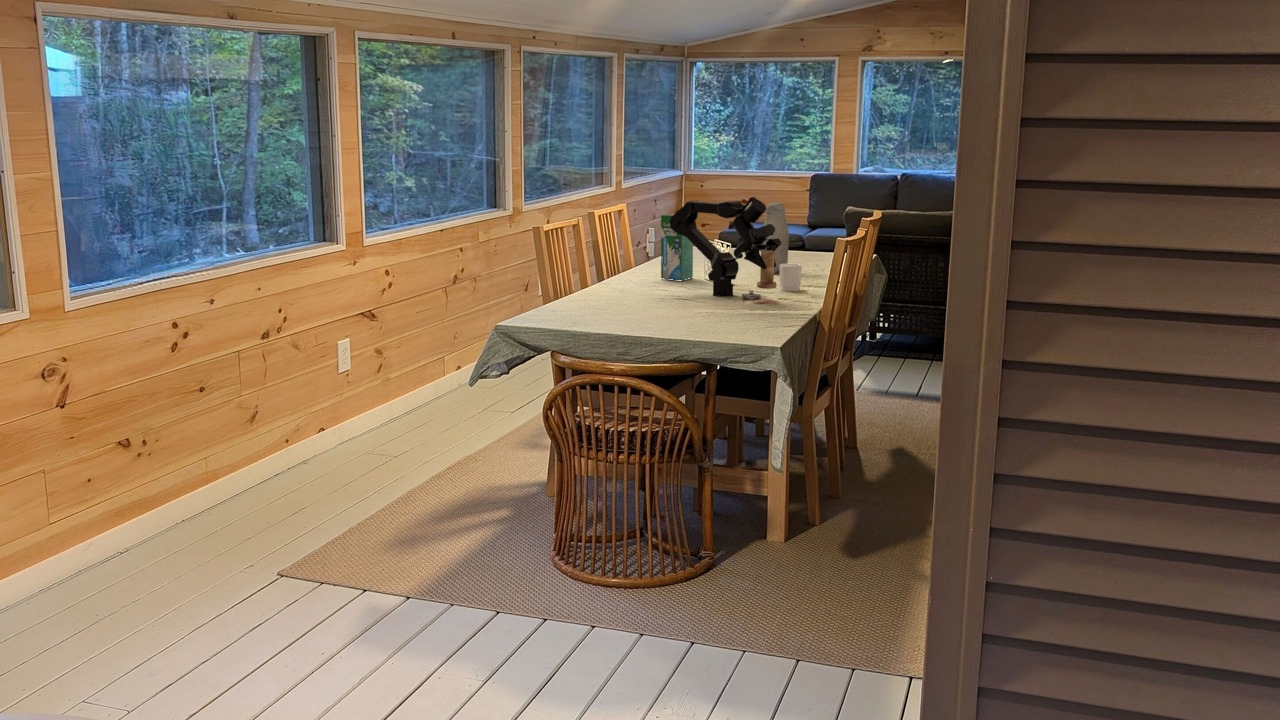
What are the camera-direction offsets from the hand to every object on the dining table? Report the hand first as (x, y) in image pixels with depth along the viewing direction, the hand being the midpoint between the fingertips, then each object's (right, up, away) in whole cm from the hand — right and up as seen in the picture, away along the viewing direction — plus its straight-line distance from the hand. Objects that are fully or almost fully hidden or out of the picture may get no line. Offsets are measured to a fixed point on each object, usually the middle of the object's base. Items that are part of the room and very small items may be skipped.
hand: (770, 267), depth 374 cm
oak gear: (-1, -6, +3) cm, 7 cm away
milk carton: (-29, 0, +61) cm, 67 cm away
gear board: (-3, -11, +7) cm, 14 cm away
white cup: (+10, -7, +28) cm, 31 cm away
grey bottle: (+10, +4, +75) cm, 76 cm away
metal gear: (-5, -10, +10) cm, 15 cm away
